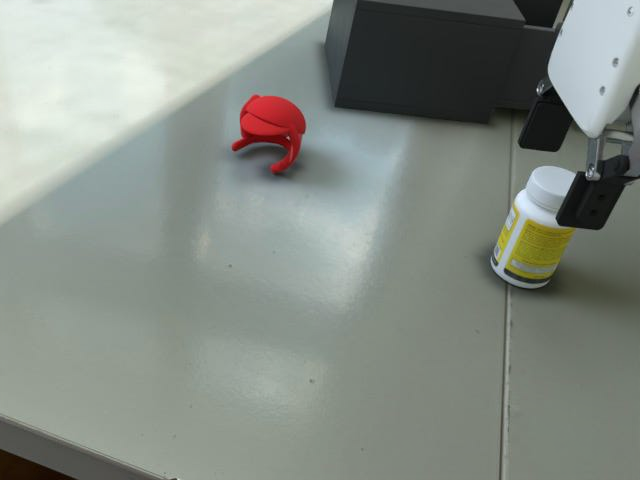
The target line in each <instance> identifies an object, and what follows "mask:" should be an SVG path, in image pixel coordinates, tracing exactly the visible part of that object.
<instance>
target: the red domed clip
mask: <svg viewBox="0 0 640 480" xmlns="http://www.w3.org/2000/svg"><path fill="white" fill-rule="evenodd" d="M239 128H240V129H239V130H240V136H241V137H242V138H240V139H238V140H236V141H234V142H233V143H232V145H231V151H233V152H234V153H235V152H238V151H240V150H242V149H243V148H245V147H247V146H250V145H252V144H257V143H263V144H265V143H266V144H273V145H277V146H280V147H282V148H284V149H285V150H286V151H287V153H286V155H285V156H284V158H283V159H282V160H280V161H278V162H276V163H273V164H271V166H270V172H271V174H278V173H282V172H284V171H286V170H287V169H289V168H290V167H291V166H292V165H293V164H294V163H295V161H296V160H297V157H298V156H299V153H300V149H301V145H302V141H303V136H304V135H305V134H306V131H307V122H306V118H305V116H304V114H303V112H302V110H301V109H300V108H299V107H298V106H297V105H296V104H295V103H293V102H292V101H291V100H288V99H286V98H284V97H282V96H277V95H262V96H260V95H259V94H253V95H251V97H249V99H248V100H247V101H246V102H245V103H244V104H243V106H242V107H241V110H240V113H239Z"/></svg>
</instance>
